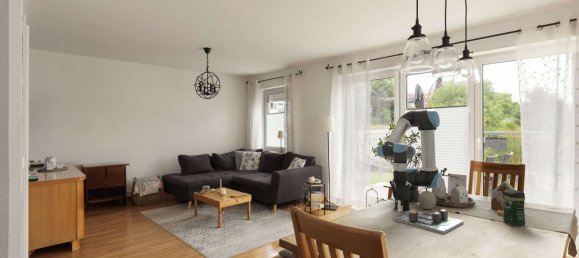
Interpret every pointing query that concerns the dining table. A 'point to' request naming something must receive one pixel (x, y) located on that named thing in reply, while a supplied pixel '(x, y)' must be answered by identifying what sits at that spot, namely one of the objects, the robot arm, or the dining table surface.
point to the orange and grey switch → (413, 216)
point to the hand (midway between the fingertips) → (400, 211)
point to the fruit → (427, 199)
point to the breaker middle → (436, 217)
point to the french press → (406, 203)
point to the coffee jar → (514, 207)
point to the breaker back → (444, 214)
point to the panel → (430, 222)
